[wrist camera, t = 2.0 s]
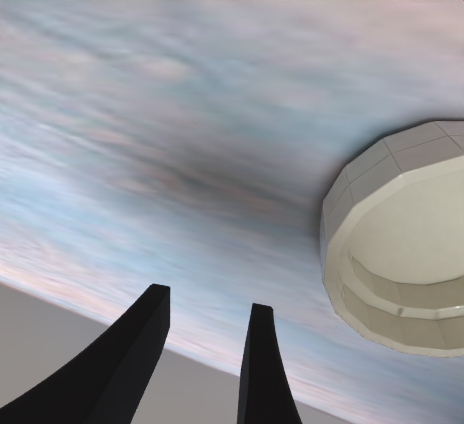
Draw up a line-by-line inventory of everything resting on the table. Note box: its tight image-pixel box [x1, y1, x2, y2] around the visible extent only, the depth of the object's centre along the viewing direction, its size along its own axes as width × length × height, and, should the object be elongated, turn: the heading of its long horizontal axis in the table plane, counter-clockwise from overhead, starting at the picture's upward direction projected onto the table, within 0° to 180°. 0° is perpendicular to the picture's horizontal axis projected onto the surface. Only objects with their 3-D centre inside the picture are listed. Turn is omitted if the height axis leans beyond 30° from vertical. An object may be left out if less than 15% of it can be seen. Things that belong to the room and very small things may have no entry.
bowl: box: [319, 121, 464, 358], centre depth 17 cm, size 11×11×4 cm
